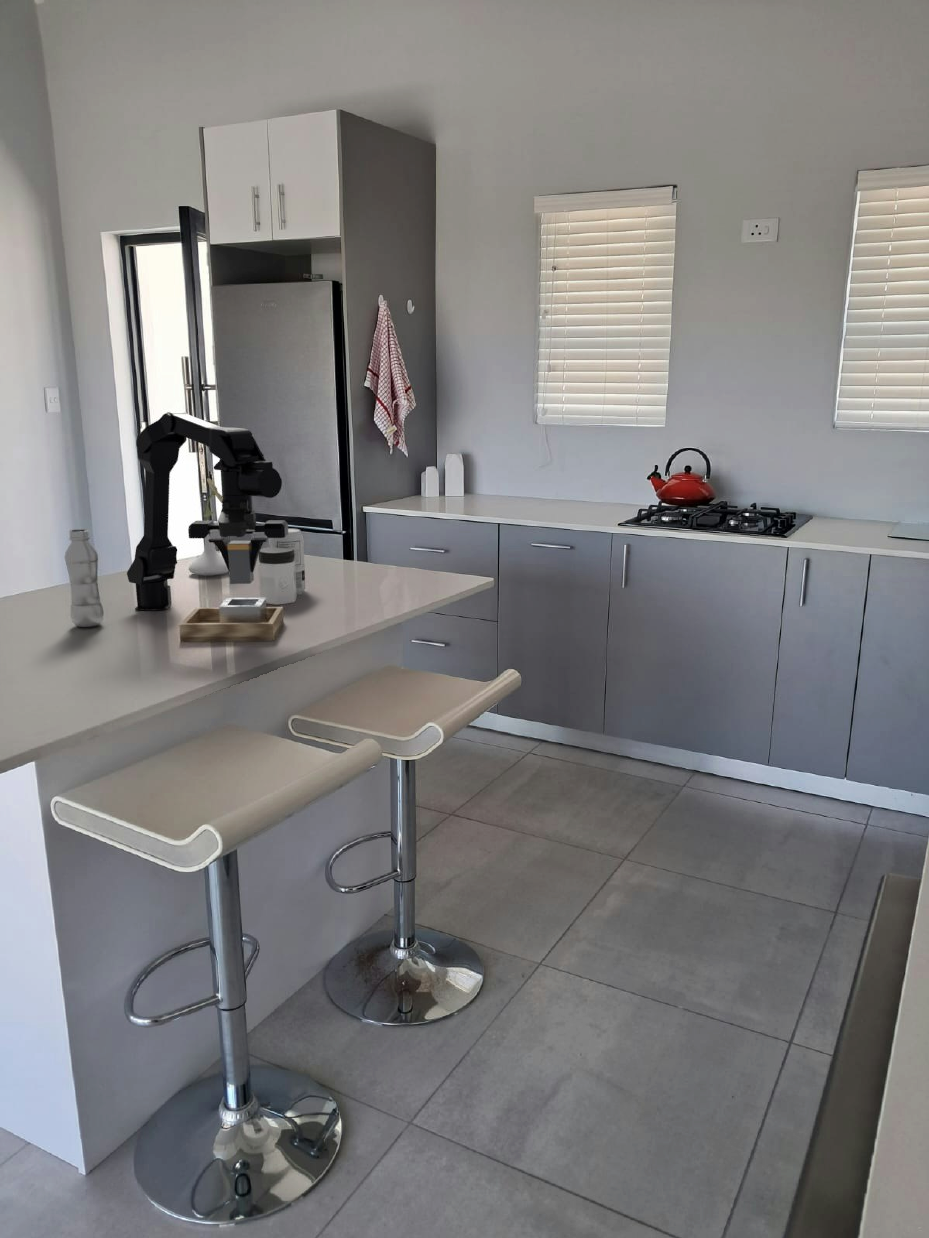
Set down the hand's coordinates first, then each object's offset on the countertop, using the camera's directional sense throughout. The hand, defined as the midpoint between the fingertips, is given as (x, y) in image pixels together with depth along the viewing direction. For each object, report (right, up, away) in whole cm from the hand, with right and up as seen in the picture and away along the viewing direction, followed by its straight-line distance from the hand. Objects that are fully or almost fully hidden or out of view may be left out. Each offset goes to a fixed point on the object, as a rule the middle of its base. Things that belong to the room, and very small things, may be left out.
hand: (241, 571), depth 186 cm
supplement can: (+2, -3, +38) cm, 38 cm away
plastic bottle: (-33, -11, +6) cm, 36 cm away
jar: (+2, -5, +29) cm, 30 cm away
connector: (0, -2, +1) cm, 2 cm away
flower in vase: (-22, +2, +59) cm, 63 cm away
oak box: (-2, -12, +2) cm, 12 cm away
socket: (0, -12, +3) cm, 12 cm away
